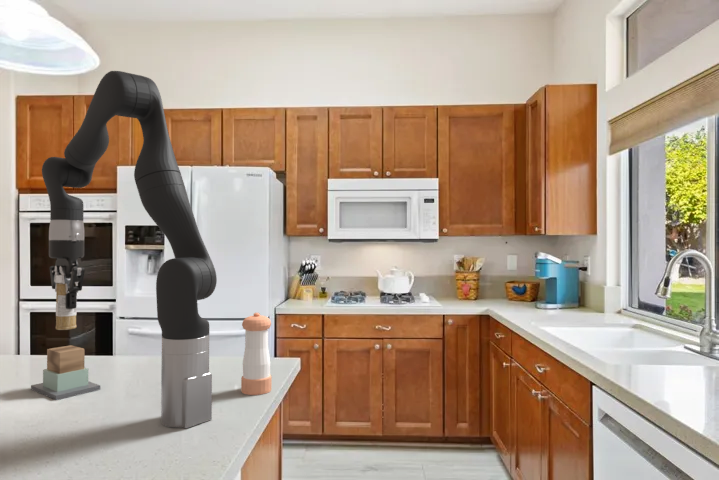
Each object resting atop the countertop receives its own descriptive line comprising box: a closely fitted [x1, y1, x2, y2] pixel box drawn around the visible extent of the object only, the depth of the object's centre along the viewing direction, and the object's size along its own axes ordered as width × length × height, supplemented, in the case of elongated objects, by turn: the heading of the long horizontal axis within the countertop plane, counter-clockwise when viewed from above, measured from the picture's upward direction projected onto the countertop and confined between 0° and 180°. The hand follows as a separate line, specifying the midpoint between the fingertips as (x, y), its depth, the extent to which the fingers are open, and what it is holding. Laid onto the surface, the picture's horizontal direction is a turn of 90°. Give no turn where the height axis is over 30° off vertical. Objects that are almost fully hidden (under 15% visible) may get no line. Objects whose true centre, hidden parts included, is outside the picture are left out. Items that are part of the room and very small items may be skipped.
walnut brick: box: [46, 344, 86, 374], centre depth 118 cm, size 7×6×5 cm
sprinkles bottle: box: [55, 275, 78, 331], centre depth 118 cm, size 5×5×14 cm
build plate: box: [30, 366, 101, 401], centre depth 118 cm, size 14×10×5 cm
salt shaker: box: [240, 312, 273, 396], centre depth 118 cm, size 7×7×19 cm
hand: (66, 307), depth 118 cm, fingers closed on sprinkles bottle, 4 cm apart
